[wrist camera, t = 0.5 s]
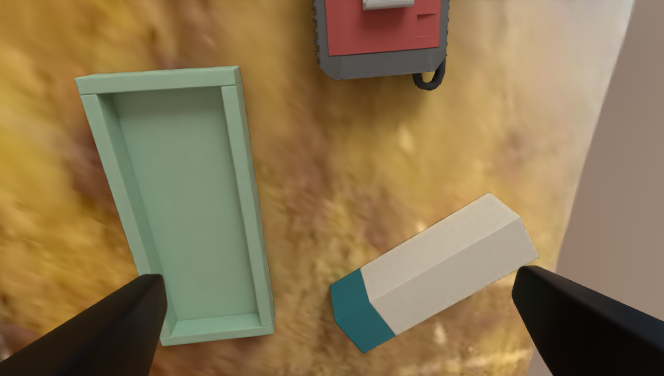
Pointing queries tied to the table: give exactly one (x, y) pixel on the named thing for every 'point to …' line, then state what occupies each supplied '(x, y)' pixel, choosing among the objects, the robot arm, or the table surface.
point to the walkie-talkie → (381, 38)
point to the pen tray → (186, 194)
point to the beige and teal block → (431, 272)
